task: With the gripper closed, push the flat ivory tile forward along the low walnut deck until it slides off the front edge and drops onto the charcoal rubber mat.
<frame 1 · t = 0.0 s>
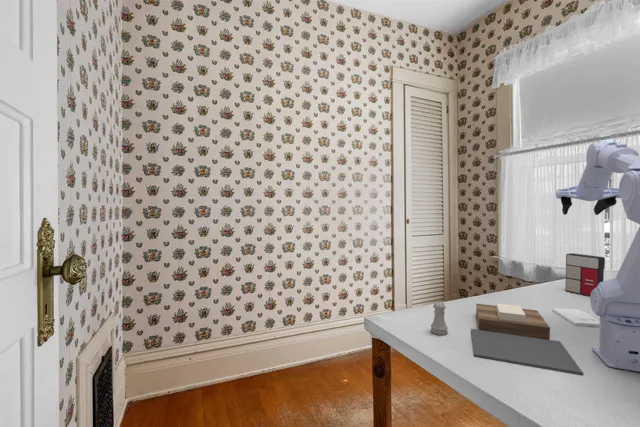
hand: (579, 212, 95), 32 cm above the table, tool tilted 50°, fingers open, 7 cm apart
external hard drive: (577, 321, 95), on the table
walnut deck: (509, 326, 89), on the table
rook chess piece: (439, 333, 86), on the table
ivory tile: (510, 316, 88), point 3 cm above the table, touching walnut deck
red and grey box: (583, 294, 121), on the table
rubber mat: (518, 349, 75), on the table
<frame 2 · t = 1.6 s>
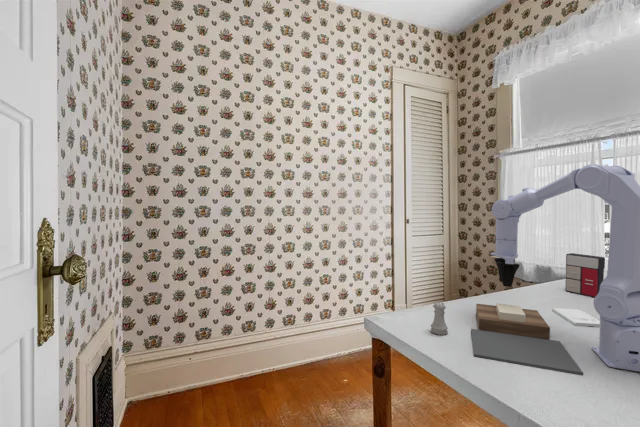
hand: (505, 283, 96), 10 cm above the table, tool pointing down, fingers open, 6 cm apart
nothing on the table moved.
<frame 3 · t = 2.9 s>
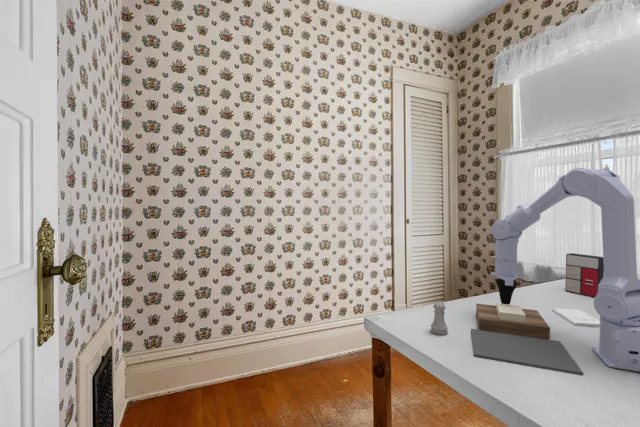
hand: (505, 303, 97), 4 cm above the table, tool pointing down, fingers closed
nothing on the table moved.
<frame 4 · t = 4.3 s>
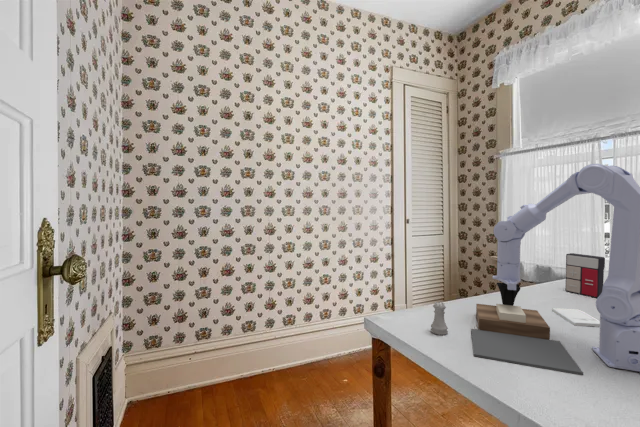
hand: (507, 308, 92), 4 cm above the table, tool pointing down, fingers closed
ivory tile: (510, 316, 88), point 4 cm above the table, touching gripper
everything else where it was.
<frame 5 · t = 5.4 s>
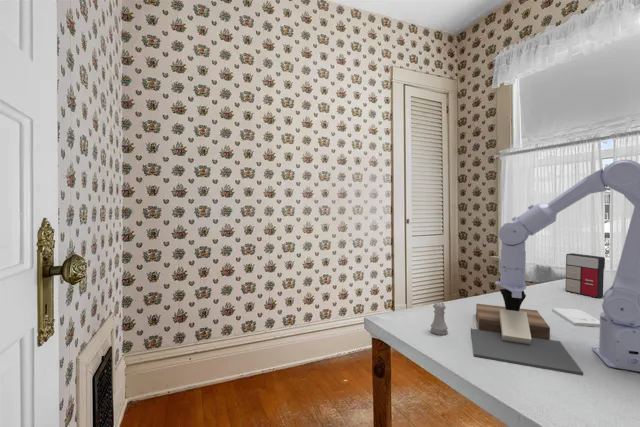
hand: (511, 317, 85), 4 cm above the table, tool pointing down, fingers closed
ivory tile: (514, 328, 81), point 3 cm above the table, tilted 34°, touching gripper
everything else where it was.
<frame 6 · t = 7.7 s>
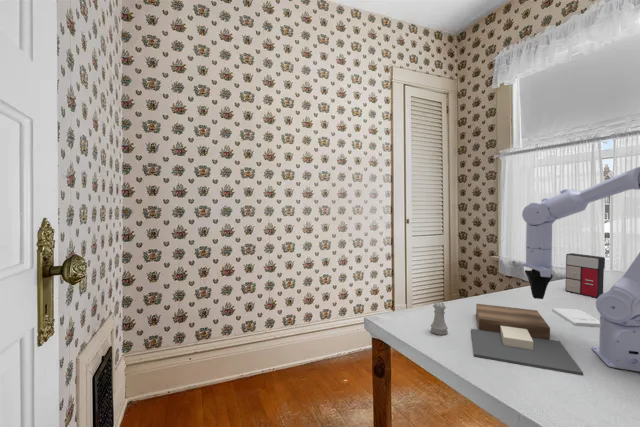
hand: (537, 298, 85), 9 cm above the table, tool pointing down, fingers closed
ivory tile: (515, 340, 79), on the table, touching rubber mat
everything else where it was.
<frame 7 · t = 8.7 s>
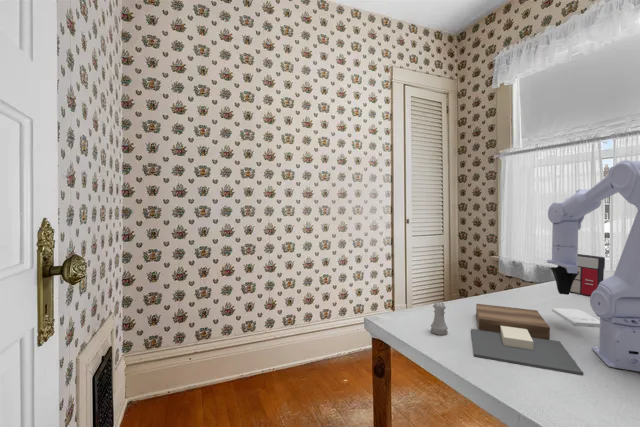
hand: (563, 293, 89), 9 cm above the table, tool pointing down, fingers closed
nothing on the table moved.
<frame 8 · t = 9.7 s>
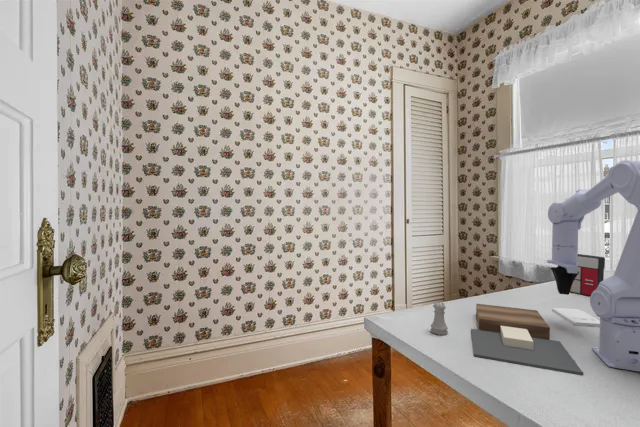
hand: (563, 293, 89), 9 cm above the table, tool pointing down, fingers closed
nothing on the table moved.
at the end: ivory tile inside the target area (3.8 cm from its centre), point 0.5 cm above the table; ivory tile touching rubber mat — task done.
